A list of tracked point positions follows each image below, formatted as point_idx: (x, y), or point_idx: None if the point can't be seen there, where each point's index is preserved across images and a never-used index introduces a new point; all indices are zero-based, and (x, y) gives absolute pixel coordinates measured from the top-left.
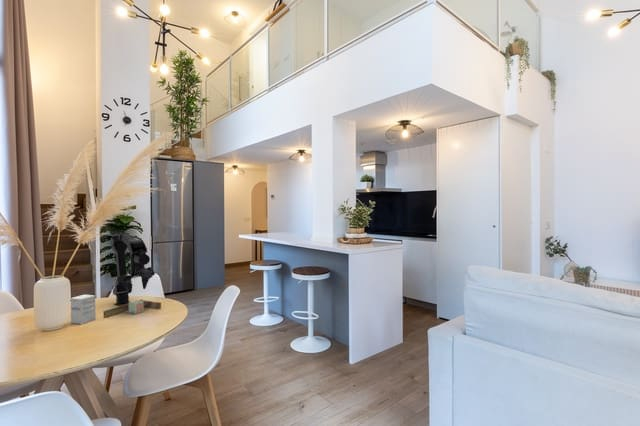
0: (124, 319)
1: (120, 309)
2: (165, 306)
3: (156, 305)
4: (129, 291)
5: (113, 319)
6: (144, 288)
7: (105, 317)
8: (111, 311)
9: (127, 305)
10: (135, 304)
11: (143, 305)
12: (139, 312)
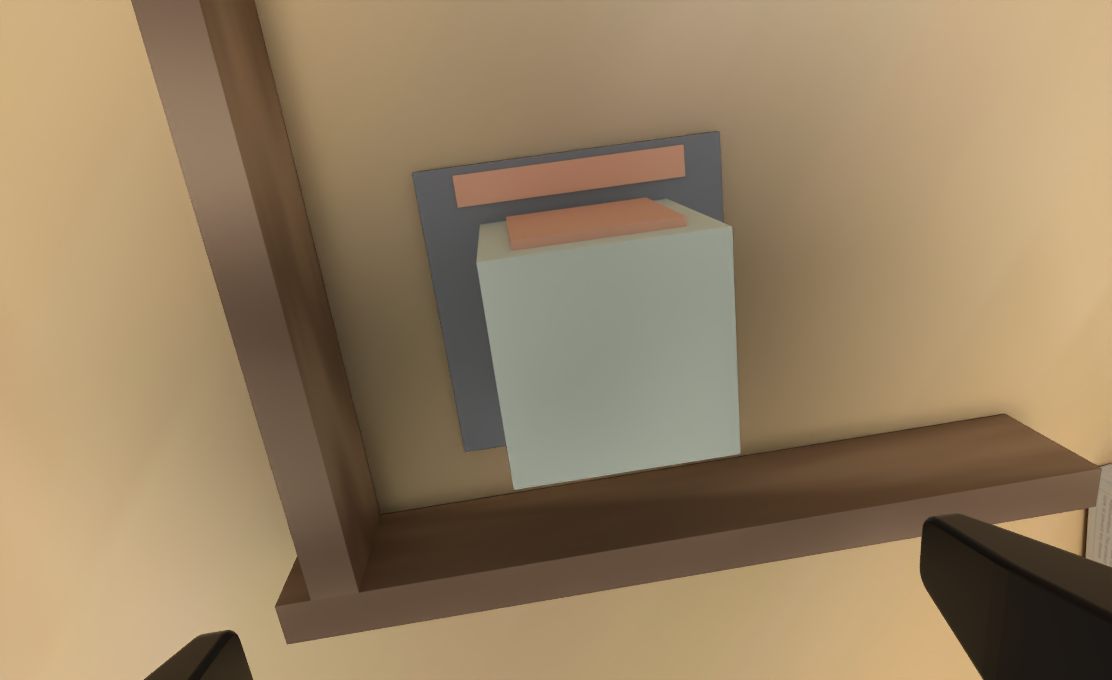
0: (982, 16)
1: (777, 488)
2: (27, 37)
3: (236, 43)
4: (1026, 539)
5: (1027, 216)
6: (227, 655)
7: (1005, 418)
8: (956, 466)
9: (645, 531)
10: (711, 224)
11: (351, 445)
12: (611, 146)
